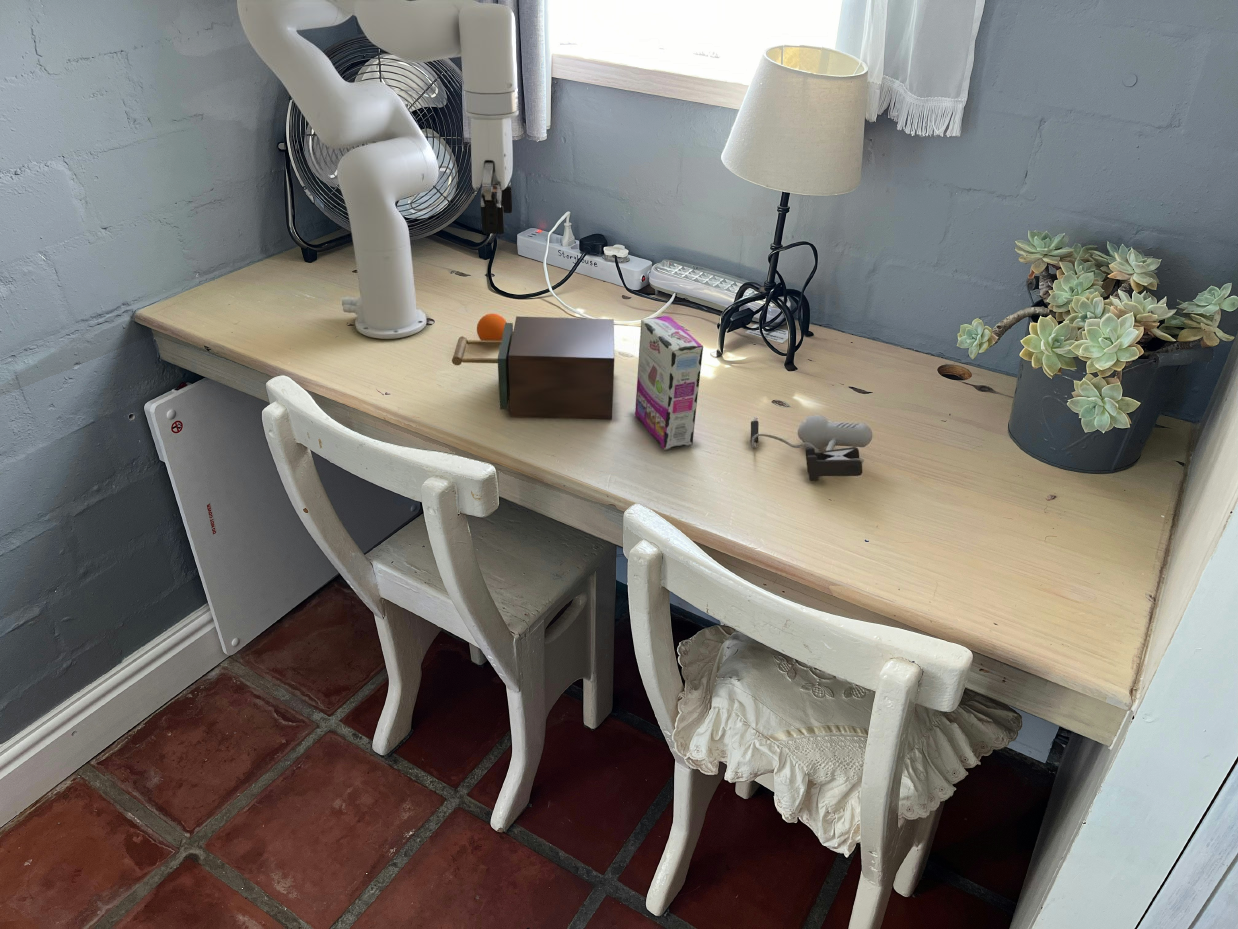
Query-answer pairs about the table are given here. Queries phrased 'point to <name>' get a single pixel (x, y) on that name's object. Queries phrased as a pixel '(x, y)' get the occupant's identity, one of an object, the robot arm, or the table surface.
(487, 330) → the ball
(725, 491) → the table surface
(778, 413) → the table surface
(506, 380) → the drawer
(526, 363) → the cabinet
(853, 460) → the clip-on lamp
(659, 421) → the candy bar box
